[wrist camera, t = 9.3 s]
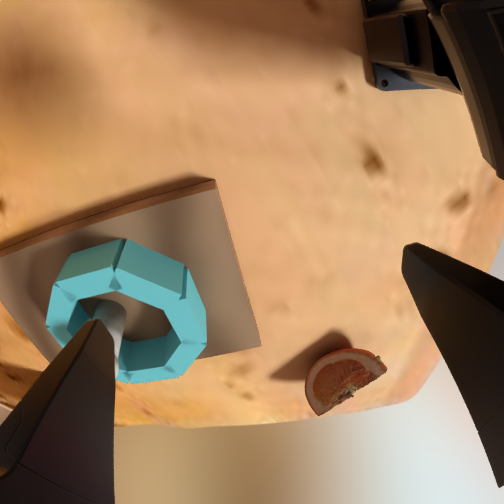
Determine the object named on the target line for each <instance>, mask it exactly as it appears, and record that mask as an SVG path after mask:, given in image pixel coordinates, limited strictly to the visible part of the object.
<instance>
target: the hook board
mask: <svg viewBox="0 0 504 504" xmlns="http://www.w3.org/2000/svg"><path fill="white" fill-rule="evenodd" d="M121 238H122V240H123V242H124V244H125V243H126V240H127V239H129V240H131V241H133V242H135V243H138V244H140V245H142V246H144V247H146V248H149V249H151V250H153V251H155V252H158V253H160V254H162V255H164V256H167V257H169V258H171V259H174V260H176V261H178V262H180V263H183V264H184V268H188V269H189V272H190V274H191V277H192V279H193V282H194V284H195V286H196V289H197V291H198V293H199V296H200V298H201V300H202V303H203V305H204V307H205V310H206V331H207V342H206V347H205V348H204V349H203V351H202V352H201V353H200V354H199V355H198V357H197V358H196V359H202V358H207V357H212V356H217V355H222V354H227V353H232V352H237V351H241V350H246V349H251V348H255V347H260V346H261V341H260V336H259V331H258V328H257V325H256V321H255V318H254V314H253V311H252V308H251V304H250V301H249V297H248V294H247V290H246V287H245V283H244V280H243V277H242V273H241V270H240V266H239V263H238V259H237V256H236V252H235V249H234V245H233V242H232V238H231V234H230V231H229V227H228V224H227V220H226V217H225V213H224V210H223V206H222V202H221V199H220V195H219V192H218V188H217V184H216V181H215V180H211V181H207V182H204V183H200V184H196V185H192V186H189V187H185V188H181V189H178V190H174V191H171V192H167V193H164V194H160V195H157V196H153V197H150V198H147V199H143V200H140V201H137V202H133V203H130V204H127V205H124V206H121V207H117V208H114V209H111V210H108V211H105V212H102V213H99V214H96V215H93V216H90V217H87V218H84V219H81V220H78V221H75V222H73V223H70V224H67V225H64V226H61V227H59V228H56V229H53V230H50V231H48V232H45V233H42V234H40V235H37V236H34V237H32V238H29V239H27V240H24V241H22V242H19V243H17V244H14V245H12V246H9V247H7V248H4V249H2V250H0V301H1V302H2V304H3V305H4V307H5V308H6V309H7V311H8V312H9V313H10V315H11V316H12V317H13V319H14V320H15V321H16V323H17V324H18V325H19V327H20V328H21V329H22V330H23V332H24V333H25V334H26V335H27V337H28V338H29V339H30V340H31V342H32V343H33V344H34V345H35V346H36V348H37V349H38V350H39V351H40V352H41V353H42V355H43V356H44V357H45V358H46V359H47V360H48V361H49V362H50V363H51V362H52V361H53V359H54V358H55V357H56V356H57V355H58V354H59V352H60V351H61V350H62V349H63V348H62V347H61V345H60V344H59V343H58V342H57V341H56V339H55V338H54V337H53V336H52V334H51V333H50V332H49V330H48V329H47V326H48V325H45V324H46V318H47V313H48V308H49V302H50V298H51V293H52V288H53V284H54V282H55V281H56V279H57V277H58V275H59V273H60V271H61V269H62V267H63V266H64V264H65V262H66V260H67V258H68V257H70V255H71V254H72V253H76V252H79V251H82V250H85V249H88V248H92V247H95V246H98V245H101V244H105V243H108V242H111V241H115V240H118V239H121ZM78 301H79V303H80V304H81V306H82V307H83V309H84V310H85V312H86V313H87V315H88V316H89V318H90V319H91V320H92V319H100V320H101V321H102V322H103V323H104V325H105V326H106V328H107V329H108V331H109V332H110V333H111V335H112V337H113V339H114V343H115V379H116V377H117V375H118V372H119V363H118V355H119V350H120V345H121V340H122V339H125V340H128V341H130V342H136V341H142V340H147V339H153V338H158V337H163V336H167V334H168V333H169V331H170V330H171V328H172V325H171V323H170V321H169V319H168V317H167V316H166V314H165V312H164V310H162V309H160V308H157V307H155V306H152V305H150V304H147V303H145V302H142V301H140V300H137V299H135V298H132V297H130V296H128V295H125V294H123V293H120V292H118V291H112V292H108V293H104V294H99V295H95V296H91V297H87V298H83V299H79V300H78ZM196 359H195V360H196Z"/></svg>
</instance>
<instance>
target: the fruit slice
mask: <svg viewBox="0 0 504 504" xmlns="http://www.w3.org/2000/svg"><path fill="white" fill-rule="evenodd" d="M386 371H387V367H386V366H385V365H384V364H383V362H382V361H381V360H380V356H377V357H375V355H374V354H372V353H371V352H369V351H366V350H362V349H352V348H351V349H341V350H337V351H333V352H331V353H329V354H327V355H325V356H323V357H322V358H320V359H319V360H317V361H316V362H315V364H314V365H313V366H312V367H311V369H310V371H309V373H308V375H307V378H306V382H305V394H306V398H307V400H308V403H309V405H310V406H311V408H312V409H313V411H314V412H315V413H316V414H317V415H318V416H320V415H322V414H324V413H326V412H327V411H329V410H330V409H332V408H333V407H334V406H336V405H339V404H341V403H342V402H343V401H345V400H346V399H349V398H350V397H353V396H354V395H352V394H353V393H354V392H355V391H356V390H358V389H360V388H363V387H364V386H365V385H368V384H369V383H370V382H372V381H374V380H376V379H377V378H379V377H380V376H381V375H382V374H384V373H386Z"/></svg>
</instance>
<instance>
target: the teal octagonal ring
mask: <svg viewBox="0 0 504 504" xmlns="http://www.w3.org/2000/svg"><path fill="white" fill-rule="evenodd" d="M112 291H118V292H120V293H123V294H125V295H128V296H130V297H132V298H135V299H137V300H140V301H142V302H145V303H147V304H150V305H152V306H155V307H157V308H160V309H162V310H164V312H165V314H166V316H167V317H168V319H169V321H170V323H171V325H172V328H171V330H170V331H169V333H168V334H167V336H163V337H158V338H153V339H147V340H142V341H136V342H130V341H128V340H125V339H122V340H121V345H120V350H119V355H118V363H119V372H118V375H117V377H116V380H119V381H122V382H124V383H128V382H129V381H130V382H131V383H132V384H136V383H144V382H151V381H158V380H165V379H171V378H178V377H179V375H181V376H182V375H183V374H184V373H185V371H186V370H187V369H188V368H189V367H190V365H191V364H192V363H193V362H194V360H195V359H196V358H197V357H198V355H199V354H200V353H201V352H202V351H203V349H204V348H205V347H206V342H207V331H206V310H205V307H204V305H203V303H202V300H201V298H200V296H199V293H198V291H197V289H196V286H195V284H194V282H193V279H192V277H191V274H190V272H189V269H188V268H184V264H183V263H180V262H178V261H176V260H174V259H171V258H169V257H167V256H164V255H162V254H160V253H158V252H155V251H153V250H151V249H149V248H146V247H144V246H142V245H140V244H138V243H135V242H133V241H131V240H129V239H127V240H126V243H125V244H124V242H123V240H122V238H121V239H118V240H115V241H111V242H108V243H105V244H101V245H98V246H95V247H92V248H88V249H85V250H82V251H79V252H76V253H72V254H71V255H70V257H68V258H67V260H66V262H65V264H64V266H63V267H62V269H61V271H60V273H59V275H58V277H57V279H56V281H55V282H54V284H53V288H52V293H51V298H50V302H49V308H48V313H47V318H46V324H45V325H48V326H47V329H48V330H49V332H50V333H51V334H52V336H53V337H54V338H55V339H56V341H57V342H58V343H59V344H60V345H61V347H62V348H64V347H65V345H66V344H67V343H68V342H69V341H70V340H71V338H72V337H73V336H74V335H75V334H76V333H77V332H78V330H79V329H80V328H81V327H82V326H83V325H84V324H85V323H86V322H87V321H88V320H91V319H90V318H89V316H88V315H87V313H86V312H85V310H84V309H83V307H82V306H81V304H80V303H79V301H78V300H79V299H83V298H87V297H91V296H95V295H99V294H104V293H108V292H112Z"/></svg>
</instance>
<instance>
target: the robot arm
mask: <svg viewBox="0 0 504 504" xmlns="http://www.w3.org/2000/svg"><path fill="white" fill-rule="evenodd" d="M361 2H362V7H363V12H364V17H365V20H364V22H363V25H364V30H365V36H366V42H367V48H368V55H369V59H370V61H371V62H372V65H373V73H374V81H375V85H376V87H377V88H378V89H379V90H383V91H393V90H411V89H442V90H446V91H449V92H453V93H456V94H460V95H463V96H464V99H465V102H466V105H467V108H468V111H469V114H470V117H471V120H472V123H473V127H474V130H475V133H476V137H477V140H478V144H479V147H480V150H481V153H482V156H483V158H484V159H485V160H486V161H487V162H488V163H489V164H490V165H491V167H492V168H494V169H495V170H496V175H497V176H498V177H499V178H501V179H502V180H504V0H372V2H369V1H368V0H361ZM382 80H385V85H384V86H382V84H381V81H382ZM401 269H402V274H403V277H404V279H405V281H406V284H407V286H408V288H409V290H410V292H411V295H412V297H413V299H414V301H415V304H416V306H417V308H418V311H419V313H420V315H421V317H422V319H423V321H424V323H425V324H426V326H427V328H428V330H429V332H430V334H431V335H432V337H433V339H434V341H435V343H436V345H437V347H438V348H439V350H440V352H441V354H442V356H443V358H444V360H445V362H446V364H447V366H448V368H449V370H450V372H451V374H452V376H453V378H454V380H455V382H456V384H457V386H458V388H459V390H460V393H461V395H462V397H463V399H464V401H465V404H466V406H467V408H468V410H469V413H470V415H471V417H472V419H473V422H474V424H475V426H476V429H477V431H478V434H479V436H480V439H481V442H482V444H483V446H484V449H485V452H486V454H487V457H488V460H489V462H490V465H491V468H492V471H493V473H494V476H495V479H496V482H497V485H498V487H499V488H500V487H502V486H504V281H502V280H500V279H498V278H496V277H494V276H491V275H490V274H487V273H485V272H483V271H481V270H479V269H477V268H475V267H472V266H470V265H468V264H466V263H464V262H461V261H459V260H457V259H455V258H452V257H450V256H448V255H446V254H443V253H441V252H439V251H436V250H434V249H432V248H429V247H427V246H425V245H422V244H420V243H417V242H415V243H411V244H408V245H406V246H404V248H403V257H402V267H401ZM115 388H116V386H115V343H114V339H113V337H112V335H111V333H110V332H109V331H108V329H107V328H106V326H105V325H104V323H103V322H102V321H101V320H100V319H92V320H88V321H87V322H86V323H85V324H84V325H83V326H82V327H81V328H80V329H79V330H78V332H77V333H76V334H75V335H74V336H73V337H72V338H71V340H70V341H69V342H68V343H67V344H66V345H65V347H64V348H63V349H62V350H61V351H60V352H59V354H58V355H57V356H56V357H55V358H54V359H53V361H52V362H51V363H50V364H49V365H48V367H47V368H46V369H45V370H44V372H43V373H42V374H41V375H40V376H39V378H38V379H37V380H36V381H35V383H34V384H33V385H32V386H31V388H30V389H29V390H28V391H27V393H26V394H25V395H24V396H23V398H22V399H21V401H19V403H18V404H17V405H16V407H15V408H14V409H13V411H12V412H11V413H10V414H9V416H8V417H7V418H6V420H5V421H4V422H3V423H2V424H1V426H0V504H115V496H114V459H113V458H114V457H113V454H114V452H113V451H114V450H113V449H114V409H115Z"/></svg>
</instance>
